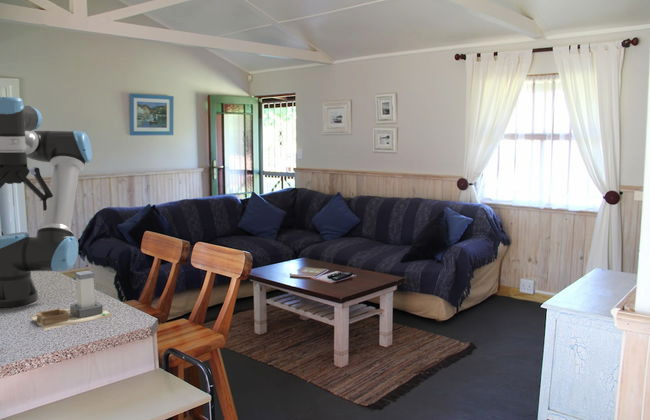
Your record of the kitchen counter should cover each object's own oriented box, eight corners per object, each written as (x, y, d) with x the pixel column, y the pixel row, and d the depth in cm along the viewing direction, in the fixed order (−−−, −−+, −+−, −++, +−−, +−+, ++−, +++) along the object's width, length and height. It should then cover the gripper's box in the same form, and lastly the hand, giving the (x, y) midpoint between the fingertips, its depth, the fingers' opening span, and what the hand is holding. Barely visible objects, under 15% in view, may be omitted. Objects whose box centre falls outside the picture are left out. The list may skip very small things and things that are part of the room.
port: (69, 312, 178) (68, 304, 178) (94, 307, 184) (94, 299, 183) (80, 320, 171) (79, 312, 171) (106, 314, 176) (106, 307, 176)
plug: (77, 312, 178) (75, 272, 176) (90, 309, 181) (88, 270, 179) (81, 315, 175) (79, 275, 173) (95, 313, 178) (93, 272, 176)
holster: (36, 319, 172) (35, 312, 171) (61, 314, 177) (61, 308, 176) (43, 325, 166) (43, 319, 166) (69, 320, 171) (69, 313, 171)
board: (29, 320, 174) (29, 316, 174) (95, 307, 188) (94, 303, 188) (45, 334, 163) (45, 330, 163) (114, 319, 176) (113, 315, 176)
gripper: (-37, 152, 152) (-30, 230, 155) (61, 151, 169) (65, 221, 172) (-42, 151, 158) (-36, 226, 161) (53, 150, 174) (57, 218, 177)
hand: (16, 224), depth 166 cm, fingers open, 13 cm apart
